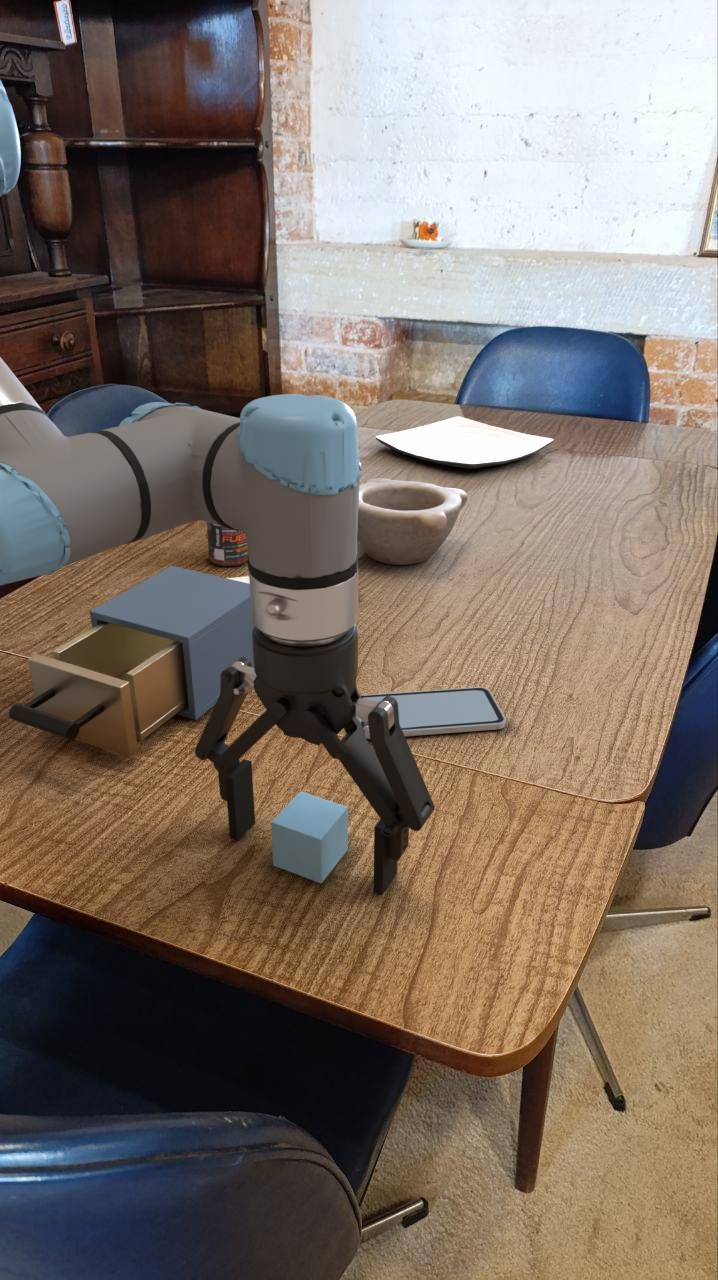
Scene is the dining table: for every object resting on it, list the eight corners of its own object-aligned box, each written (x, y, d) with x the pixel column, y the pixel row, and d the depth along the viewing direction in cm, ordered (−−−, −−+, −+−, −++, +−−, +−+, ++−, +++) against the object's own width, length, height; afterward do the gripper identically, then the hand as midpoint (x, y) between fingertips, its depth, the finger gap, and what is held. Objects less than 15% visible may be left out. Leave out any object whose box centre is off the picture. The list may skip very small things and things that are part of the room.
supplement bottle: (224, 571, 124) (219, 494, 118) (201, 559, 127) (195, 484, 122) (259, 560, 127) (255, 485, 122) (235, 549, 131) (230, 475, 126)
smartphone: (508, 723, 88) (361, 734, 86) (507, 730, 89) (361, 741, 86) (487, 685, 95) (350, 695, 92) (486, 692, 95) (350, 702, 93)
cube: (273, 865, 71) (270, 822, 69) (301, 833, 74) (300, 790, 72) (321, 884, 69) (320, 839, 67) (348, 849, 73) (348, 806, 71)
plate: (563, 452, 178) (564, 439, 177) (472, 481, 161) (473, 467, 160) (456, 426, 197) (457, 414, 195) (364, 449, 179) (365, 436, 178)
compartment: (195, 720, 90) (188, 637, 85) (101, 690, 95) (89, 611, 90) (267, 663, 100) (264, 586, 96) (179, 638, 106) (171, 565, 101)
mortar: (471, 543, 134) (476, 485, 130) (436, 584, 120) (439, 521, 116) (370, 527, 140) (371, 471, 135) (325, 565, 126) (324, 503, 121)
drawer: (93, 787, 78) (80, 714, 75) (1, 753, 83) (-15, 682, 79) (209, 696, 92) (203, 631, 88) (124, 671, 97) (116, 608, 93)
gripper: (132, 608, 64) (161, 836, 74) (448, 690, 54) (433, 941, 64) (194, 572, 70) (213, 787, 80) (490, 640, 60) (470, 877, 70)
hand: (311, 856), depth 72 cm, fingers open, 13 cm apart
